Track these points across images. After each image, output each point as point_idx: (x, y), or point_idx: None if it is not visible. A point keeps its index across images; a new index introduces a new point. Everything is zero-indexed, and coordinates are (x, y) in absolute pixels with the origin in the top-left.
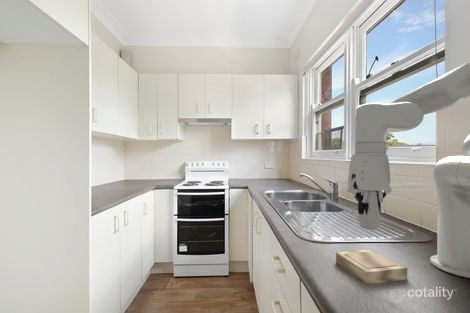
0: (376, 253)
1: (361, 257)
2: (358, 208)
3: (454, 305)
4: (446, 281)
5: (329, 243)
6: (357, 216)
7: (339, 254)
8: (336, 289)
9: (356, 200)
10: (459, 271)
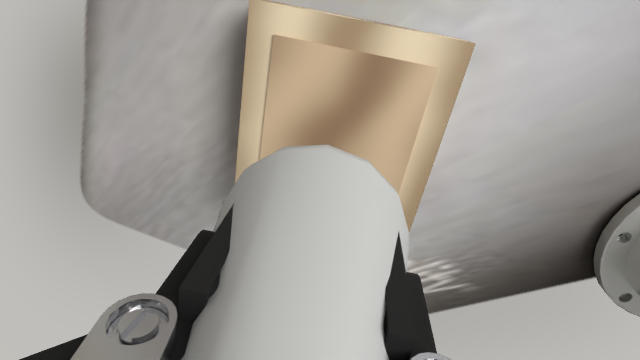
0: (442, 95)
1: (318, 105)
2: (185, 257)
3: None
4: (509, 262)
5: None
6: (237, 184)
7: (248, 28)
8: (135, 156)
9: (122, 304)
10: (609, 276)
